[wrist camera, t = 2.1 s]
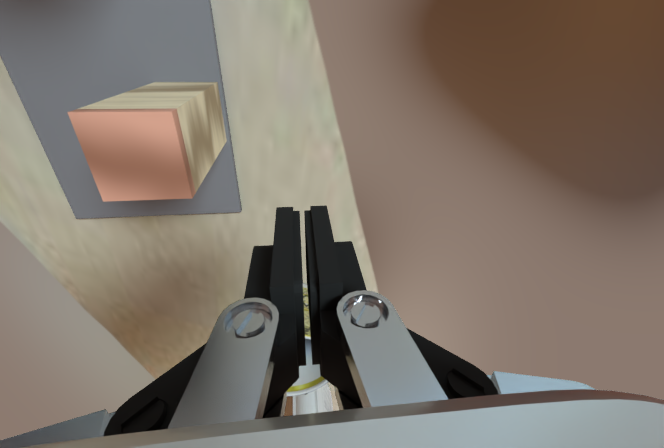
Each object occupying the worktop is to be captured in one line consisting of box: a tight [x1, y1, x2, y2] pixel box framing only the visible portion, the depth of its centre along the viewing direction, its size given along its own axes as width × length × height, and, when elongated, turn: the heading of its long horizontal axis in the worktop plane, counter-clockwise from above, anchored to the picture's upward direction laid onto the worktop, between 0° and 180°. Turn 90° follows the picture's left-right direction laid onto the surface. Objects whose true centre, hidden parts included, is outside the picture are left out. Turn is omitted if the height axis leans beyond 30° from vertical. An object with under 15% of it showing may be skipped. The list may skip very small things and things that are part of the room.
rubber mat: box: [0, 0, 242, 219], centre depth 27 cm, size 20×16×1 cm
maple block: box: [67, 82, 227, 202], centre depth 22 cm, size 5×5×12 cm
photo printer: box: [293, 383, 333, 415], centre depth 45 cm, size 10×4×12 cm, turn 15°
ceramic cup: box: [287, 284, 329, 396], centre depth 37 cm, size 13×10×10 cm
